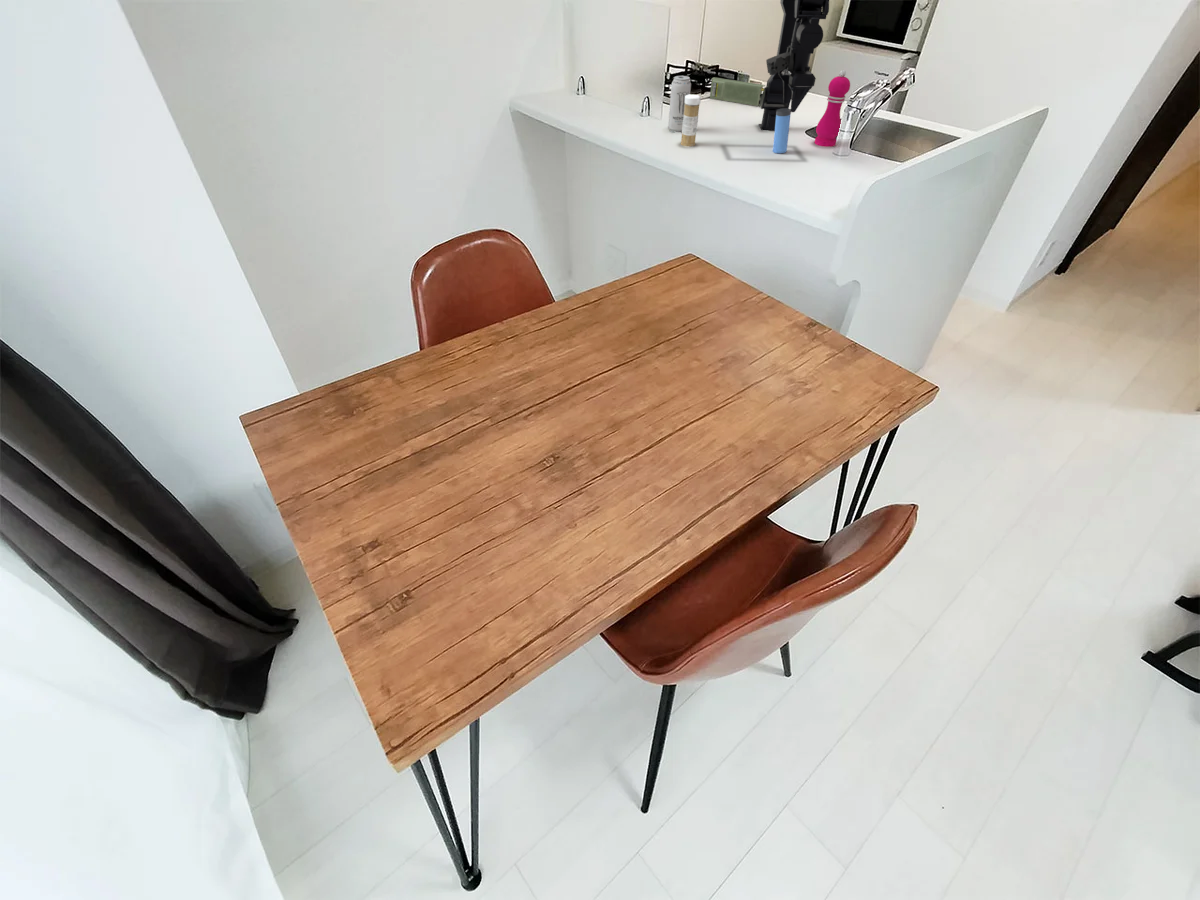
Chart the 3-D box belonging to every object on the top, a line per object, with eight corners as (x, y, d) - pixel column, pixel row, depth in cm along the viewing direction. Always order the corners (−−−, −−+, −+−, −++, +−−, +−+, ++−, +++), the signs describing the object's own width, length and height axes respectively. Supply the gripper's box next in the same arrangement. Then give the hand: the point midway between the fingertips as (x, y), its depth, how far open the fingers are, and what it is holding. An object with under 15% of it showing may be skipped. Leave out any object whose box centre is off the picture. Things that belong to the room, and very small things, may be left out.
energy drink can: (672, 134, 192) (677, 80, 182) (664, 128, 197) (668, 76, 186) (689, 132, 194) (695, 79, 184) (680, 127, 198) (686, 74, 188)
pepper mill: (834, 141, 189) (853, 67, 176) (838, 149, 184) (858, 73, 170) (810, 140, 190) (828, 67, 176) (814, 147, 184) (832, 72, 171)
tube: (775, 109, 174) (789, 107, 174) (771, 149, 181) (785, 148, 181) (778, 113, 171) (792, 111, 171) (774, 154, 178) (788, 152, 178)
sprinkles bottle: (688, 142, 187) (693, 93, 178) (698, 146, 184) (704, 96, 175) (677, 144, 185) (681, 95, 176) (686, 148, 182) (692, 98, 173)
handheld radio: (712, 96, 228) (775, 107, 218) (708, 98, 226) (771, 109, 216) (714, 76, 223) (779, 86, 213) (710, 78, 221) (775, 88, 211)
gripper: (765, 35, 168) (755, 98, 179) (779, 49, 155) (767, 116, 165) (805, 36, 168) (792, 99, 179) (822, 50, 155) (807, 117, 165)
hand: (788, 107), depth 172 cm, fingers open, 9 cm apart
